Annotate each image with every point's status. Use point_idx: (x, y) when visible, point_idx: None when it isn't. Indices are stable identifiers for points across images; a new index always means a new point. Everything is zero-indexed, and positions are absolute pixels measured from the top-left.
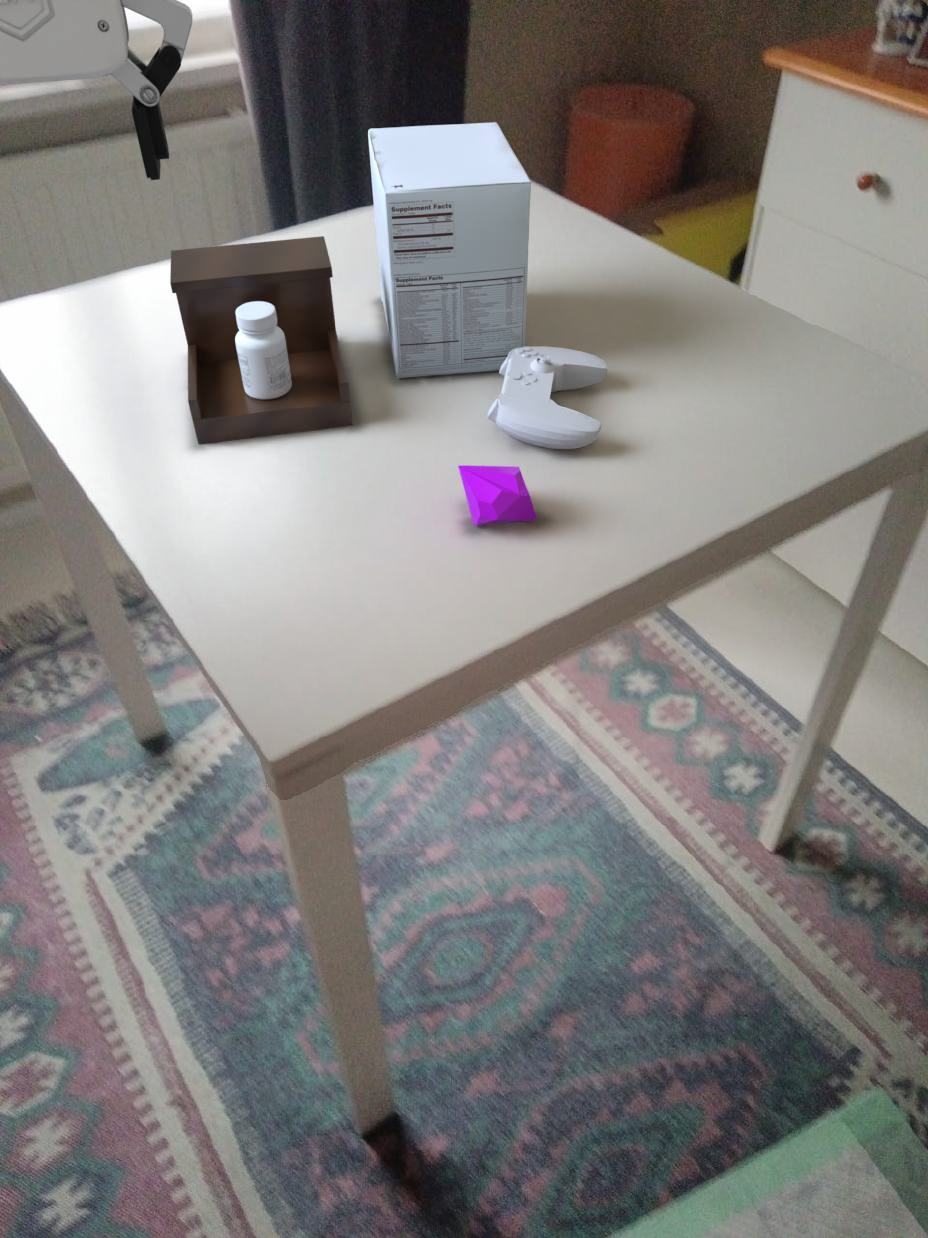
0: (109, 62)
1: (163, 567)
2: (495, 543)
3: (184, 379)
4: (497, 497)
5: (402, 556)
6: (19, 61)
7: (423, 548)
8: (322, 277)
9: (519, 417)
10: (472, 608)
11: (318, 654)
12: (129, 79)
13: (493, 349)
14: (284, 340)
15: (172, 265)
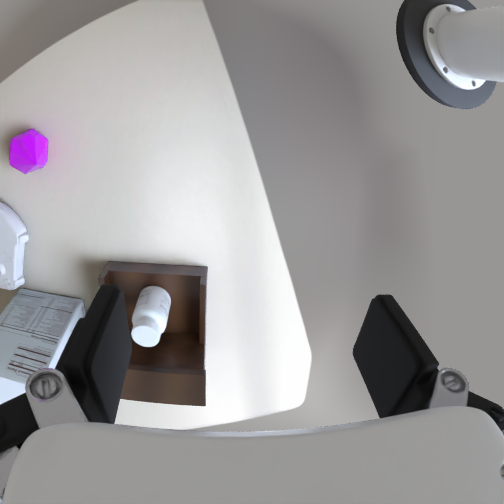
0: (56, 439)
1: (239, 142)
2: (41, 123)
3: (213, 332)
4: (24, 136)
5: (90, 118)
6: (336, 469)
7: (77, 124)
8: None
9: (9, 220)
10: (64, 67)
11: (154, 41)
12: (64, 418)
13: (27, 298)
14: (132, 316)
15: (204, 392)
